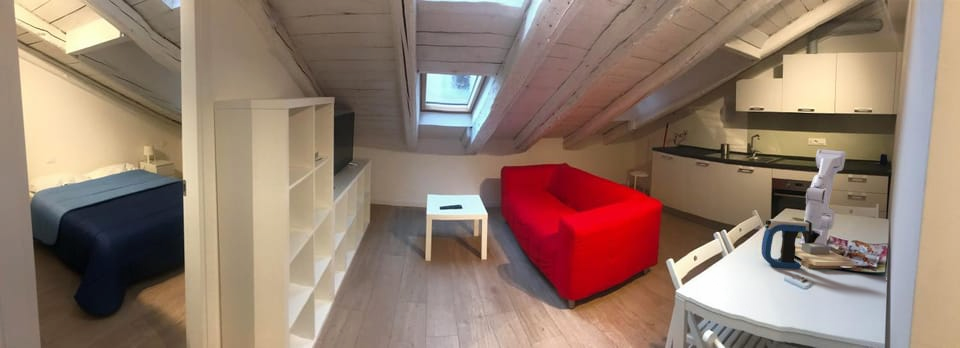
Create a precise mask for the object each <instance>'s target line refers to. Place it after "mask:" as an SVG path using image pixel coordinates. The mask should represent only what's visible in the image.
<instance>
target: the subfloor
mask: <svg viewBox="0 0 960 348" xmlns="http://www.w3.org/2000/svg"><path fill="white" fill-rule="evenodd" d="M781 247H782V244H781V245H780V248H781ZM801 248H802V244H795V256H796V257H798V258H800V259H801V261H800V265H801V266H803V267H805V268H807V269H839V268H838V267H840V266H856V261H854V260H852V259H851V258H847V257H845V256H844V255H841V254H839V253H837V252H834V251H832V250H830V252H829V254H808V253H806V252H804V251H802V250H801ZM779 252H780V254H781V250H780V251H779Z"/></svg>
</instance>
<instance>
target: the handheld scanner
mask: <svg viewBox="0 0 960 348" xmlns="http://www.w3.org/2000/svg"><path fill="white" fill-rule="evenodd" d="M764 226H765V227H764V228H765V229H764V233H763V236H762V241H761V255H762V257H763V259H764V260H765V261H766V262H767V263H768V264H769V265H770V266H772V267H774V268H778V269H792V270H800V269H801V267H802V265H801V262H799V261H797V260H795V245H796V240H797V238H798V237H797V235H798V233H799V232H805V231H806V232H808V233H809V234H812V223H811V222H809V221H808V220H805V222H802V221H790V220H785V219H773V218H772V219H771V218H770V219H767V220H766V221H765V225H764ZM777 232H781V238H782V241H781V245H782V247H781V246H780V251H781V253H780V257H779V258H773V257H772V255H771V254H772V246H773V245H772V244H773V239H774V236H775V235H776V234H777Z"/></svg>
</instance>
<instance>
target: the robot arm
mask: <svg viewBox="0 0 960 348" xmlns="http://www.w3.org/2000/svg"><path fill="white" fill-rule="evenodd" d="M846 156H847V153H846V151H844V150H842V151H840V150H832V149H831V150H830V149H821V148H819V149H818V150H817V151H816V155H815V162H816V163H815V165H816V167H817V169H819V170H818V173H817V174H815V175H813V178H812V181H811V184H810V187H808V188H807V189H806V193H805V205H806V206H805V211H804V218H803V219H804V222H805V220H808V221H809V222H811V223H812V234H809V233H808V232H806V231H805V232H802V238H800V239H801V240H800V241H798V244H799V245H802V243H821V244H824V245H826V246H827V243H828V235H829V230H832V229H833V228H834V225H835V217H836V215H835V212H834V211H833V210H832V208H830V202H831V196H832V192H833V187H834V183H835V177H836V176H837V175H836V174H837V173H838V172H841V171H843V170H844V166H845V162H846Z"/></svg>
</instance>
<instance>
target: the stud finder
mask: <svg viewBox="0 0 960 348" xmlns="http://www.w3.org/2000/svg"><path fill="white" fill-rule="evenodd" d="M801 245H802V248H801V250H802V251H804V252H806V253H808V254H829V252H830V251H831V250H830V249H831V247H830V246H828V245H827V244H826V245H824V244H821V243H802V244H801Z"/></svg>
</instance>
